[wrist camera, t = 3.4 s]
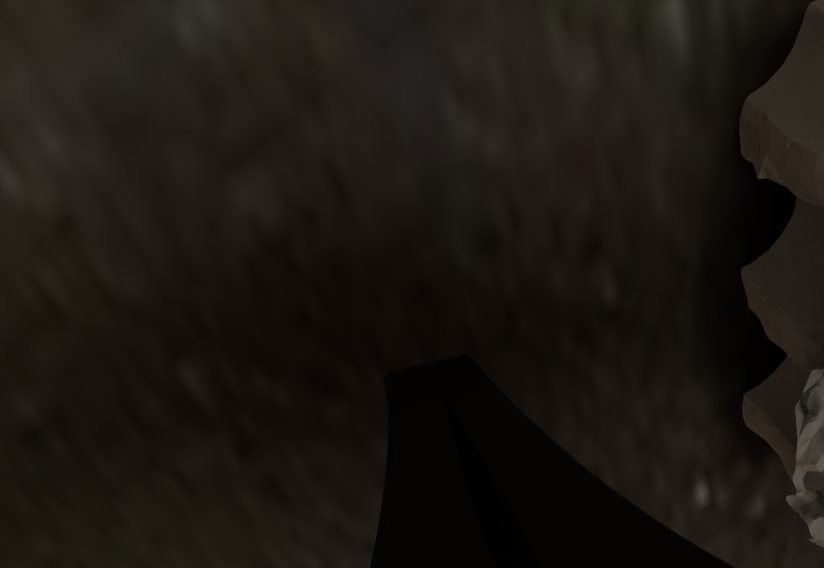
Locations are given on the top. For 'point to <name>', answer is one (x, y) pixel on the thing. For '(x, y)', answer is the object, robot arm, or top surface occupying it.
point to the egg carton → (792, 266)
